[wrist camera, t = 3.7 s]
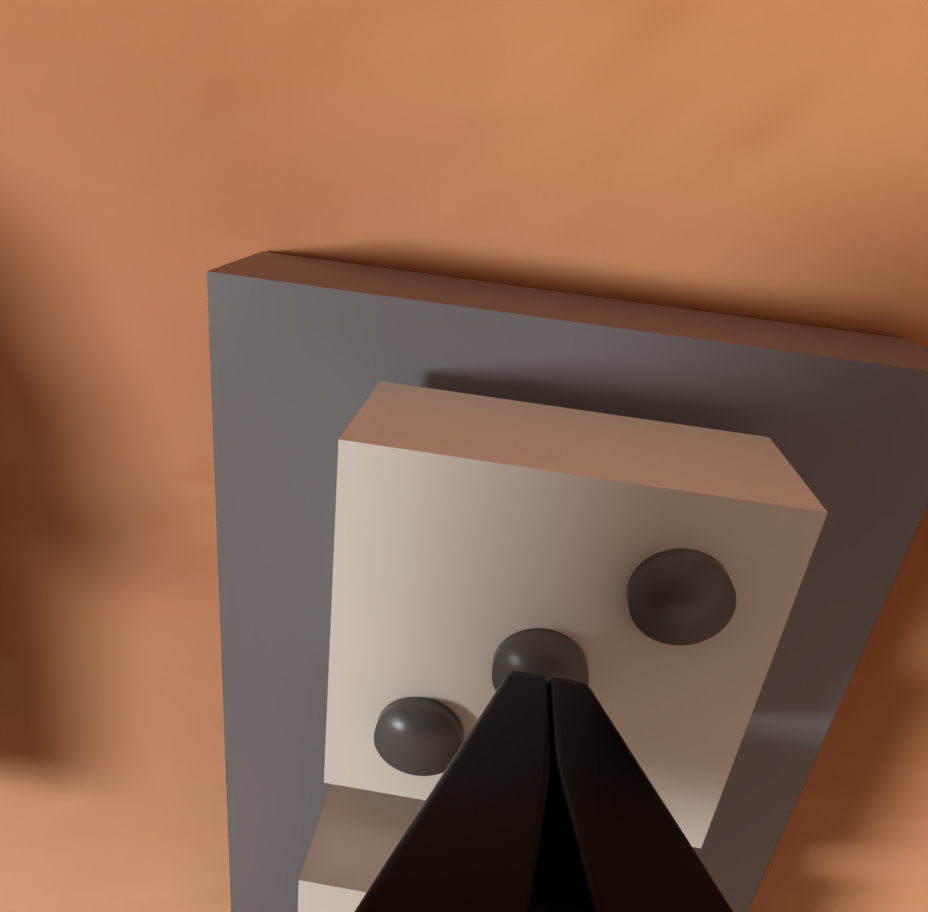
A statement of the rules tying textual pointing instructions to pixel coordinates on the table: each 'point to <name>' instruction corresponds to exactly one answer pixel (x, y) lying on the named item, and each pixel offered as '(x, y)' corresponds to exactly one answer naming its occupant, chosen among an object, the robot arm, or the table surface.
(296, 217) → the table surface
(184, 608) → the table surface
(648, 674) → the key three
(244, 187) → the table surface
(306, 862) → the key two
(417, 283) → the keypad board
